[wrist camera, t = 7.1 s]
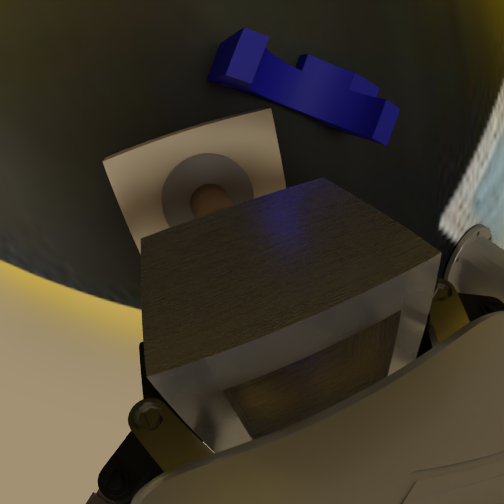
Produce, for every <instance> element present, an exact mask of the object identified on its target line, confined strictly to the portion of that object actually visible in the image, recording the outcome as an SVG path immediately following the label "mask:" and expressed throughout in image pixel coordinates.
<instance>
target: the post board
mask: <svg viewBox="0 0 504 504" xmlns="http://www.w3.org/2000/svg"><path fill="white" fill-rule="evenodd" d="M103 165H104V167H105V170H106V173H107V175H108V178H109V181H110V183H111V186H112V188H113V191H114V193H115V196H116V198H117V201H118V203H119V206H120V208H121V211H122V213H123V215H124V218H125V220H126V223H127V225H128V227H129V230H130V232H131V234H132V236H133V239H134V241H135V243H136V245H137V248H138V250H139V252H140V254H141V238H143V237H146V236H148V235H151V234H154V233H156V232H159V231H162V230H165V229H167V228H170V227H173V226H176V225H178V224H181V223H184V222H187V221H190V220H192V219H195V218H198V217H201V216H204V215H207V214H210V213H212V212H215V211H218V210H221V209H224V208H227V207H230V206H233V205H236V204H239V203H242V202H245V201H248V200H251V199H254V198H257V197H260V196H264V195H267V194H270V193H273V192H276V191H279V190H282V189H286V184H285V178H284V172H283V167H282V162H281V156H280V151H279V146H278V140H277V135H276V130H275V125H274V120H273V115H272V110H271V108H266V107H262V108H258V109H254V110H249V111H245V112H241V113H237V114H233V115H230V116H226V117H222V118H218V119H215V120H211V121H208V122H204V123H201V124H198V125H194V126H191V127H188V128H185V129H181V130H178V131H175V132H172V133H169V134H166V135H163V136H160V137H158V138H155V139H152V140H149V141H146V142H144V143H141V144H138V145H135V146H133V147H130V148H128V149H125V150H122V151H120V152H117V153H115V154H112V155H110V156H108V157H105V159H104V160H103Z"/></svg>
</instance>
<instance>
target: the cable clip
mask: <svg viewBox="0 0 504 504" xmlns="http://www.w3.org/2000/svg"><path fill="white" fill-rule="evenodd" d="M268 39H269V37H268V36H265V35H263V34H260V33H258V32H255V31H252V30H250V29H247V28H243V29H241V30H239V31H238V32H236V33H235V34H233V35H232V36H231V37H229V38H228V39H226V40H225V41H223V42H222V43H221V44H220V46H219V49H218V51H217V54H216V57H215V59H214V62H213V64H212V67H211V70H210V73H209V75H208V78H207V80H208V81H211V82H214V83H218V84H221V85H224V86H227V87H230V88H233V89H236V90H239V91H242V92H245V93H248V94H251V95H254V96H257V97H260V98H262V99H265V100H268V101H270V102H273V103H276V104H278V105H281V106H283V107H286V108H288V109H291V110H293V111H296V112H298V113H301V114H303V115H305V116H308V117H310V118H312V119H315V120H317V121H319V122H322V123H324V124H326V125H328V126H330V127H332V128H335V129H337V130H339V131H341V132H344V133H347V134H351V135H354V136H357V137H361V138H364V139H367V140H370V141H373V142H376V143H379V144H382V145H385V146H387V144H388V141H389V138H390V136H391V133H392V130H393V128H394V125H395V122H396V119H397V116H398V114H399V111H400V109H399V108H398V107H397V106H395V105H394V104H392V103H391V102H389V101H388V100H386V99H381V98H376V97H377V95H378V92H379V89H380V88H379V87H377V86H376V85H374V84H373V83H371V82H369V81H368V80H366V79H365V78H363V77H361V76H360V75H358V74H356V73H355V72H352V71H349V70H346V69H343V68H340V67H338V66H335V65H332V64H330V63H327V62H325V61H323V60H320V59H318V58H316V57H314V56H312V55H309V54H305V55H300V58H299V60H298V63H297V65H296V68H295V67H293V66H291V65H289V64H287V63H285V62H284V61H282V60H280V59H279V58H277V57H275V56H274V55H273V54H271V53H270V52H269V51H268V50H267V49H266V44H267V42H268Z"/></svg>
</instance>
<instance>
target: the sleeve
mask: <svg viewBox="0 0 504 504" xmlns="http://www.w3.org/2000/svg"><path fill="white" fill-rule="evenodd" d="M440 259H441V252H440V251H439V250H437V249H436V248H434V247H433V246H432V245H430V244H429V243H427V242H426V241H424V240H423V239H421V238H420V237H418V236H417V235H416V234H414V233H413V232H411V231H410V230H408V229H407V228H405V227H404V226H402V225H400V224H399V223H397V222H396V221H394V220H393V219H391V218H390V217H388V216H387V215H385V214H383V213H382V212H380V211H379V210H377V209H375V208H374V207H372V206H371V205H369V204H367V203H366V202H364V201H362V200H361V199H359V198H357V197H356V196H354V195H352V194H351V193H349V192H347V191H345V190H344V189H342V188H340V187H339V186H337V185H335V184H333V183H332V182H330V181H328V180H326V179H324V178H323V177H322V178H319V179H315V180H312V181H309V182H305V183H302V184H299V185H295V186H292V187H289V188H286V189H282V190H279V191H276V192H273V193H270V194H267V195H264V196H260V197H257V198H254V199H251V200H248V201H245V202H242V203H239V204H236V205H233V206H230V207H227V208H224V209H221V210H218V211H215V212H212V213H210V214H207V215H204V216H201V217H198V218H195V219H192V220H190V221H187V222H184V223H181V224H178V225H176V226H173V227H170V228H167V229H165V230H162V231H159V232H156V233H154V234H151V235H148V236H146V237H143V238H141V304H142V325H143V341H144V354H145V366H146V376H147V378H148V379H149V381H150V382H151V383H152V384H153V386H154V387H155V388H156V389H157V391H158V392H159V393H160V394H161V395H162V396H163V398H164V399H165V400H166V401H167V402H168V403H169V405H170V406H171V407H172V408H173V409H174V410H175V411H176V413H177V414H178V415H179V416H180V417H181V418H182V419H183V420H184V421H185V423H186V424H187V425H188V426H189V427H190V428H191V429H192V430H193V431H194V432H195V433H196V434H197V435H198V436H199V437H200V438H201V439H202V440H203V441H204V442H205V443H206V444H207V445H208V446H209V447H210V448H211V449H212V450H213V451H214V452H215V453H217V452H220V451H223V450H226V449H229V448H232V447H235V446H238V445H240V444H243V443H246V442H249V441H251V440H254V439H257V438H260V437H262V436H265V435H268V434H270V433H273V432H275V431H278V430H280V429H283V428H285V427H287V426H290V425H292V424H295V423H297V422H299V421H301V420H304V419H306V418H308V417H310V416H313V415H315V414H317V413H319V412H321V411H323V410H325V409H328V408H330V407H332V406H334V405H336V404H338V403H340V402H342V401H344V400H346V399H348V398H349V397H351V396H353V395H355V394H357V393H359V392H361V391H363V390H365V389H366V388H368V387H370V386H372V385H374V384H375V383H377V382H379V381H381V380H382V379H384V378H386V377H387V376H389V375H391V374H392V373H394V372H396V371H397V370H399V369H401V368H402V367H404V366H406V365H407V364H409V363H410V362H412V361H413V360H415V359H416V356H417V353H418V350H419V346H420V343H421V340H422V336H423V333H424V329H425V326H426V322H427V318H428V314H429V310H430V306H431V302H432V298H433V294H434V289H435V284H436V280H437V275H438V270H439V264H440Z"/></svg>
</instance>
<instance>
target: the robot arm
mask: <svg viewBox="0 0 504 504" xmlns="http://www.w3.org/2000/svg"><path fill="white" fill-rule="evenodd" d="M139 350H140V365H141V377H142V387H143V398H144V399H143V400H141V401H139V402H138V403H136V404H135V405H134V406H133V408H132V409H131V411H130V413H129V417H128V423H129V426H130V428H131V432H130V433H129V434H128V436H127V437H126V438H125V440H124V441H123V442H122V444H121V445H120V446H119V448H118V449H117V450H116V452H115V453H114V454H113V455H112V457H111V458H110V459H109V461H108V462H107V463H106V465H105V466H104V467H103V469H102V470H101V472H100V474H99V477H98V487H99V490H98V491H97V493H94V492H93V493H92V495H91V496H90V498H89V500H88V501H87V503H86V504H504V250H503V249H502V248H500V247H499V246H497V245H496V244H494V243H493V242H492V234H491V231H490V230H489V228H487V227H486V226H484V225H477V226H475V227H473V228H472V229H471V230H469V231H468V232H467V233H466V234H465V235H464V237H463V238H462V239H461V240H460V242H459V243H458V245H457V246H456V248H455V250H454V252H453V253H452V255H451V258H450V260H449V262H448V265H447V267H446V271H445V274H444V279H442V278H437V280H436V284H435V289H434V294H433V298H432V302H431V306H430V310H429V314H428V318H427V322H426V326H425V329H424V333H423V336H422V340H421V343H420V346H419V350H418V353H417V356H416V359H415V360H413V361H412V362H410V363H409V364H407V365H406V366H404V367H402V368H401V369H399V370H397V371H396V372H394V373H392V374H391V375H389V376H387V377H386V378H384V379H382V380H381V381H379V382H377V383H375V384H374V385H372V386H370V387H368V388H366V389H365V390H363V391H361V392H359V393H357V394H355V395H353V396H351V397H349V398H348V399H346V400H344V401H342V402H340V403H338V404H336V405H334V406H332V407H330V408H328V409H325V410H323V411H321V412H319V413H317V414H315V415H313V416H310V417H308V418H306V419H304V420H301V421H299V422H297V423H295V424H292V425H290V426H287V427H285V428H283V429H280V430H278V431H275V432H273V433H270V434H268V435H265V436H262V437H260V438H257V439H254V440H251V441H249V442H246V443H243V444H240V445H238V446H235V447H232V448H229V449H226V450H223V451H220V452H217V453H213V452H212V451H211V450H210V449H209V448H208V447H207V446H206V445H205V444H204V443H203V440H202V439H201V438H200V437H199V436H198V435H197V434H196V433H195V432H194V431H193V430H192V429H191V428H190V427H189V426H188V425H187V424H186V423H185V421H184V420H183V419H182V418H181V417H180V416H179V415H178V414H177V413H176V411H175V410H174V409H173V408H172V407H171V406H170V405H169V403H168V402H167V401H166V400H165V399H164V398H163V396H162V395H161V394H160V393H159V392H158V391H157V389H156V388H155V387H154V386H153V384H152V383H151V382H150V381H149V379H148V378H147V376H146V366H145V354H144V342H141V343H140V345H139Z"/></svg>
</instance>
